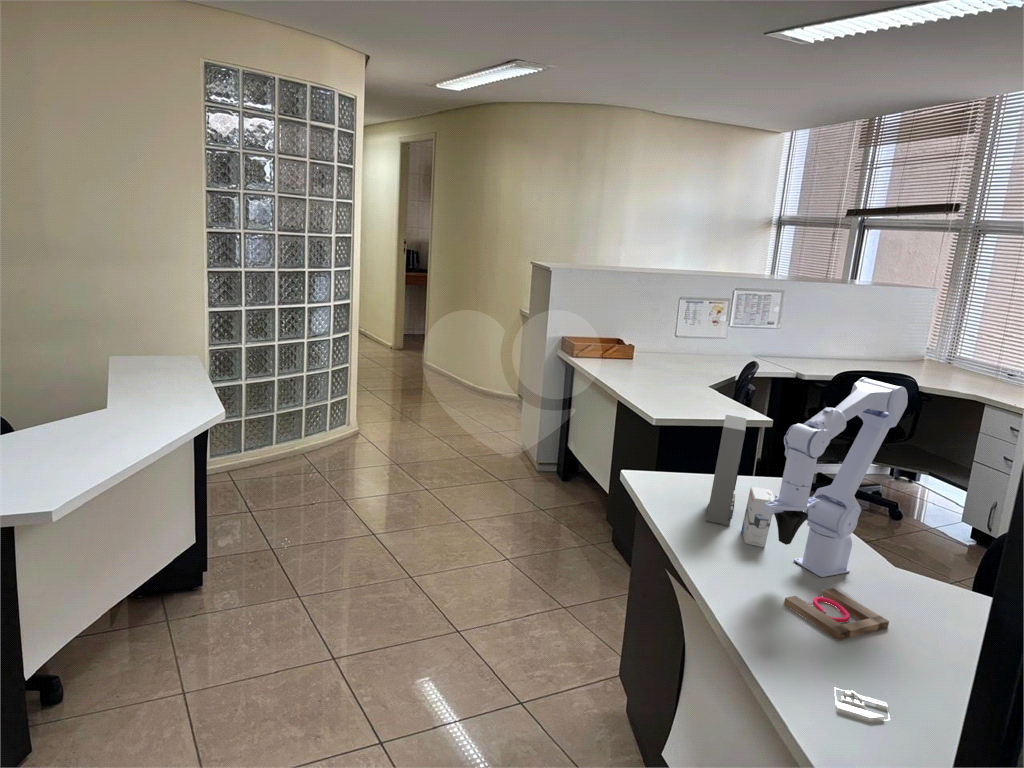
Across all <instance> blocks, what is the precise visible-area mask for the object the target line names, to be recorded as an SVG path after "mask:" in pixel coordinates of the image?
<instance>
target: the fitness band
mask: <svg viewBox="0 0 1024 768" xmlns="http://www.w3.org/2000/svg"><path fill="white" fill-rule="evenodd" d="M822 602H827V603H830V604H832V605H834V606H836V607H837V608H838V609H839V610H840V612H841V613H842V614H843V615H844V616H843V615H842V614H841V613H840V612H839V613H840V614H841V615H842V617H833V616H829V615H828V616H829V617H830V618H832V619H833V620H835V621H837V622H846V623H848V622H849V621H848V620H850V617H851V616H850V615H851V614H849V613H848V612H847V610H846V609H845V608H844V607H842V606H841V605H840V604H839V603H837V602H836V601H834V600H831V599H829V598H825V597H822V596H816V597H814V598H813V599H812V603H811V606H812V605H813V607H815V608H816V609H818V610H819V611H821V612H822V613H824V614H826V615H827V611H826V610H825V608H823V606H822V605H820V604H819V603H822ZM827 603H826V604H827ZM830 604H829V605H830ZM832 605H831V606H832ZM834 606H833V607H834ZM847 621H848V622H847Z"/></svg>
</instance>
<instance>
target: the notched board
mask: <svg viewBox="0 0 1024 768" xmlns="http://www.w3.org/2000/svg"><path fill="white" fill-rule="evenodd" d="M822 596H823V597H825V598H829V599H831V600H834V601H836V602H837V603H839V604H840V605H841V606H842V607H844V608H845V609H846V610H847V612H848V613H850V615H851V616H853V617H854V616H855V617H854V618H855V619H857V620H856V621H854V622H853V621H852V622H849V623H848V622H847V623H842V624H841V623H838V622H837V621H835V620H833V619H832V618H830V617H831V616H830V617H829V615H827V613H826V614H824V613H822V612H821V611H819V610H818V609H816V608H815V607H813V606H812V604H810V603H808V602H806V600H803V599H802V598H801V597H799V596H797V595H791V596H788V597H784V601H783V605H784V604H785V605H786V606H785V605H784V606H785V607H787V606H788V607H789V608H788V607H787V608H788V609H790V608H791V609H792V610H791V609H790V610H791V611H793V610H794V611H795V612H794V611H793V612H794V613H796V612H797V613H798V614H797V613H796V614H797V615H799V614H800V615H801V617H802V616H803V617H804V618H803V617H802V618H803V619H805V618H806V619H807V620H806V619H805V620H806V621H808V622H809V621H810V622H809V623H811V624H812V623H813V624H812V625H814V626H815V625H816V626H815V627H817V628H818V629H820V630H821V631H823V632H824V633H826V634H828V635H830V637H832V638H834V639H835V640H836V641H842V640H845V639H846V640H847V639H850V638H851V639H852V638H855V637H858V636H862V635H866V634H871V633H873V632H877V631H881V630H885V629H888V627H889V624H890V620H888V619H886V617H883V616H881V615H880V614H878V613H876V612H875V611H873V610H872V609H870V608H868V607H866V606H864V605H863V604H862V603H860V602H858V601H856V600H854V599H853V598H851V597H849V596H847V595H846V594H844V593H842V592H840V591H839V590H837V588H834V587H832V588H827V589H826V588H825V589H823V590H822V594H821V597H822ZM800 615H799V616H800Z"/></svg>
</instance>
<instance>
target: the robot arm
mask: <svg viewBox="0 0 1024 768" xmlns="http://www.w3.org/2000/svg"><path fill="white" fill-rule="evenodd" d="M908 397H909V396H908V390H907V389H906V387H904V386H902V385H900V386H899V385H894V384H890V383H886V382H883V381H879V380H874V379H871V378H868V377H864V376H863V377H861V378H859V379H858V380H857V381H856V382H854V383H853V385H852V389H851V391H850V394H849V395H848V396H847V397H846V398H845V399H843V400H842V401H841V402H840V403H839V404H838V405H836V406H835V407H827V406H826V407H824V408H823V409H822V410H821V411H819V412H818V413H817V414H815V415H814V416H812V417H811V418H810V419H807V421H805V422H804V423H799V422H798V423H796V424H792V425H790V427H789V428H788V430H787V431H786V434H785V435H784V437H783V444H784V449H785V450H784V456H785V458H786V460H785V464H784V465H785V466H784V470H783V473H782V474H783V475H782V479H781V485H780V489H779V494H775V496H774V498H775V499H774V500H772V501H771V502H768V503H765V504H764V509H763V512H764V513H766V514H768V515H772V516H773V515H774V518H775V521H776V526H777V535H778V541H779V542H780V543H782V544H783V545H785V546H787V545H791V543H792V542H793V540H794V538H795V536H796V534H797V532H798V530H799V529H800V527H801V526H802V525H803V524H804V523H805V521H807V523H806V526H807V527H809V529H808V534H807V538H806V544H805V549H804V552H803V557H797V558H793V562H795V563H796V564H798V565H800V566H802V567H803V568H804V569H806V570H808V571H810V572H812V573H813V574H815V575H817V576H818V577H820V578H824V577H829V576H835V575H840V574H846V573H850V571H851V569H850V568H848V565H849V561H850V555H851V552H852V548H853V547H852V546H853V540H852V537H851V534H853V532H855V529H856V527H857V526H858V520H859V517H860V514H861V513H862V507H861V505H860V504H859V502H858V500H857V499H856V496H855V495H856V493H857V491H858V490H859V488H860V485H862V481H863V480H864V478H865V475H866V474H867V473H868V470H869V469H870V467H871V464H872V463H873V461H874V459H875V458H876V455H877V453H878V451H879V449H880V448H881V446H882V443H883V442H884V440H885V438H886V437H887V434H888V432H889V430H890V429H891V428H895V427H897V425H898V423H899V422H900V420H901V418H902V416H903V414H904V412H905V410H906V409H907V406H908V402H909V401H908ZM856 416H857V417H859V418H860V419H861V420H862V423H863V424H862V426H861V428H860V429H859V431H858V433H857V435H856V437H855V439H854V441H853V443H852V445H851V447H850V448H849V450H848V453H847V454H846V456H845V458H844V460H843V461H842V464H841V465H840V468H839V469H838V470H837V471H838V472H837V473H836V475H835V477H834V479H833V480H832V483H831V484H829V485H826V486H823V487H819V488H817V489H816V491H815V492H814V494H813V495H812V496H810V494H811V489H812V484H813V481H814V480H813V479H814V477H815V472H816V471H815V470H816V466H817V461H818V458H819V457H821V456H822V455H823V454H824V453H825V451H826V449H827V447H828V446H829V445H830V443H831V440H832V439H834V438H835V437H837V436H838V435H839V434H840V433H842V432H844V430H845V429H846V428H847V422H848V421H850V420H851V419H853V418H854V417H856Z"/></svg>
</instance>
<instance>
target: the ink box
mask: <svg viewBox="0 0 1024 768" xmlns="http://www.w3.org/2000/svg"><path fill="white" fill-rule="evenodd" d="M774 499H776V498H775V496H774V494H773V491H772V489H768V488H764V487H763V488H762V487H756V486H750V489H749V494H748V498H747V504H746V508H745V512H744V516H743V520H742V524H741V533H742V537H743V541H744V544H748V545H752V546H757V547H762V548H766V543H767V540H768V535H769V533H770V532H769V530H770V526H771V522H772V519H773V518H772V517H773V515H768V514H766V513H764V512H763V509H764V504H765V503H768V502H771V501H772V500H774Z"/></svg>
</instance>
